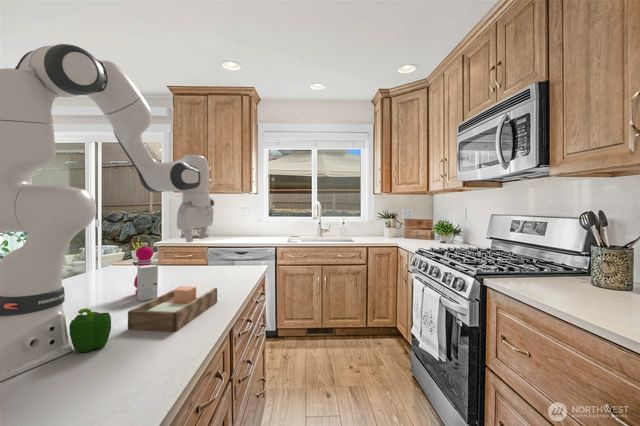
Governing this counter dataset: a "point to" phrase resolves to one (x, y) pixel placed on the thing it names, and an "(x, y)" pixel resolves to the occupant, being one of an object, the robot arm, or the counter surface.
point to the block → (184, 294)
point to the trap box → (169, 312)
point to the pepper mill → (143, 258)
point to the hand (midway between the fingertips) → (196, 240)
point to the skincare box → (147, 282)
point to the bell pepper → (90, 330)
